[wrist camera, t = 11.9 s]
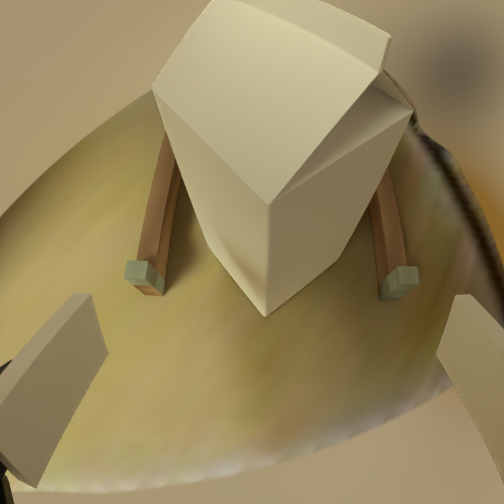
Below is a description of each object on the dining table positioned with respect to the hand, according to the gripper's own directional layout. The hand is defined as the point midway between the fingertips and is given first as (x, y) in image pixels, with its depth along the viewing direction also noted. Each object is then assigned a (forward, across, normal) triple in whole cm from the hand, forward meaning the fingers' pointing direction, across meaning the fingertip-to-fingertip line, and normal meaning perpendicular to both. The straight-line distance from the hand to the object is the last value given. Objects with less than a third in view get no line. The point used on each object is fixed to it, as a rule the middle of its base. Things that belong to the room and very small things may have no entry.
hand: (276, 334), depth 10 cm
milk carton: (+14, 0, -3) cm, 14 cm away
